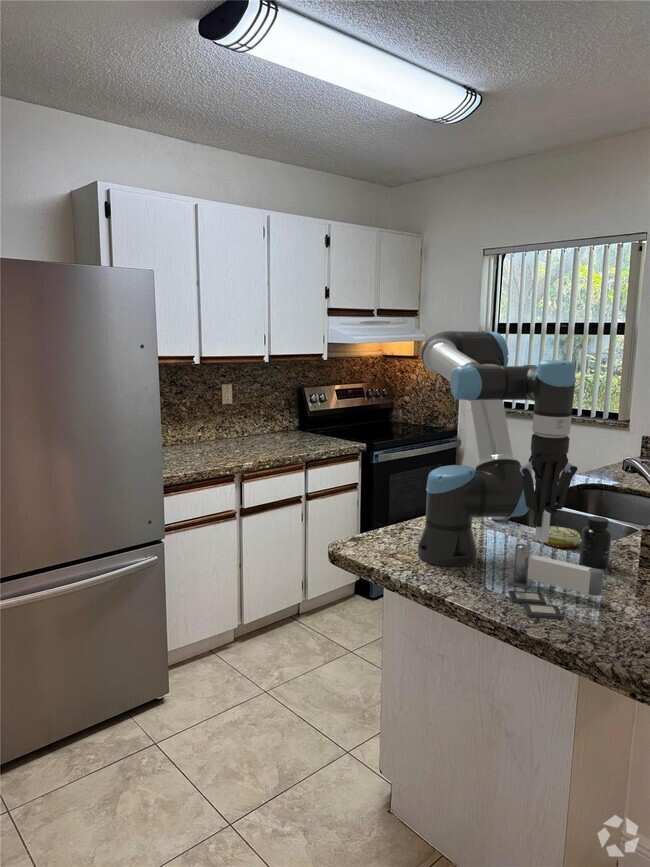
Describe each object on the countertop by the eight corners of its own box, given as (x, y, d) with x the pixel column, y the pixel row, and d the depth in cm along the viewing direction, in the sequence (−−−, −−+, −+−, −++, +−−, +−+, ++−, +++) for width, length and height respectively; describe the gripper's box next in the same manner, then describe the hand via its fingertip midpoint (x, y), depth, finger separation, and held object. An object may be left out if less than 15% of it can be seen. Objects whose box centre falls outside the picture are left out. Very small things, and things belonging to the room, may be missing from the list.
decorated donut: (584, 550, 162) (586, 537, 162) (543, 548, 164) (544, 535, 163) (573, 537, 173) (575, 524, 172) (535, 535, 174) (536, 523, 173)
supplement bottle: (611, 571, 148) (616, 524, 146) (582, 568, 149) (586, 522, 147) (605, 560, 155) (609, 515, 153) (576, 558, 156) (580, 513, 154)
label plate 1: (512, 602, 130) (512, 599, 130) (508, 592, 135) (508, 589, 135) (545, 605, 129) (546, 602, 129) (541, 595, 134) (541, 592, 134)
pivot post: (506, 584, 139) (509, 547, 138) (511, 577, 144) (513, 540, 142) (529, 589, 137) (531, 551, 136) (533, 581, 141) (535, 544, 140)
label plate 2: (526, 616, 124) (527, 613, 124) (522, 605, 129) (522, 602, 129) (562, 619, 123) (562, 615, 123) (557, 608, 128) (557, 605, 128)
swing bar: (527, 579, 138) (528, 558, 137) (531, 574, 140) (532, 554, 139) (599, 597, 129) (601, 574, 128) (603, 592, 131) (605, 570, 130)
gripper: (531, 438, 122) (522, 548, 127) (589, 437, 125) (578, 544, 130) (513, 431, 130) (505, 535, 134) (568, 430, 132) (558, 532, 137)
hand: (541, 540), depth 132 cm, fingers closed
